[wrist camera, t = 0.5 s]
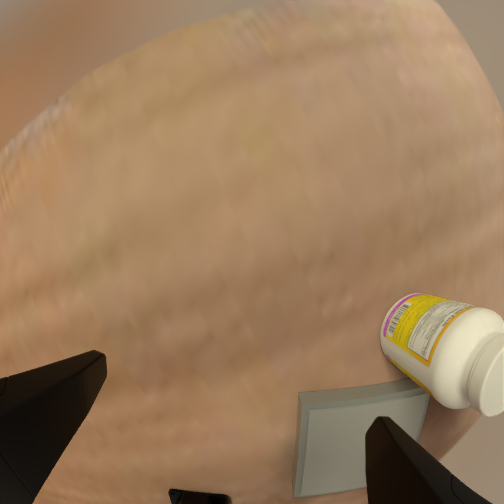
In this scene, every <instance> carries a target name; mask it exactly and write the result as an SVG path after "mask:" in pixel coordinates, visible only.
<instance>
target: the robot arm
mask: <svg viewBox="0 0 504 504" xmlns="http://www.w3.org/2000/svg"><path fill="white" fill-rule="evenodd" d="M106 377H107V365H106V356H105V354H103V353H101V352H99V351H96V350H92V351H89V352H86V353H83V354H80V355H77V356H73V357H70V358H67V359H64V360H61V361H58V362H55V363H51V364H48V365H45V366H42V367H39V368H35V369H32V370H29V371H25V372H22V373H19V374H15V375H12V376H9V377H4V378H1V379H0V504H32V503H33V502H34V500H35V498H36V496H37V494H38V493H39V491H40V489H41V488H42V486H43V484H44V483H45V481H46V479H47V478H48V476H49V474H50V473H51V471H52V469H53V468H54V466H55V464H56V463H57V461H58V460H59V458H60V456H61V455H62V453H63V452H64V450H65V449H66V447H67V445H68V444H69V442H70V441H71V439H72V438H73V436H74V435H75V433H76V431H77V430H78V428H79V427H80V425H81V424H82V422H83V421H84V419H85V418H86V416H87V414H88V413H89V411H90V409H91V407H92V405H93V403H94V401H95V399H96V397H97V395H98V393H99V391H100V389H101V387H102V385H103V383H104V381H105V379H106ZM365 474H366V484H367V494H368V504H492V503H490V502H489V501H487V500H486V499H484V498H483V497H481V496H480V495H479V494H477V493H476V492H474V491H473V490H471V489H470V488H469V487H467V486H466V485H465V484H464V483H463V482H461V481H460V480H459V479H458V478H457V477H455V476H454V475H453V474H451V472H450V471H449V470H447V469H446V468H445V467H444V466H443V465H441V463H440V462H438V461H437V460H436V459H435V458H434V457H433V456H432V455H431V454H430V453H428V452H427V451H426V450H425V449H424V448H423V447H422V446H421V445H420V444H418V443H417V442H416V441H415V440H414V439H413V438H412V437H411V436H410V435H409V434H407V433H406V432H405V431H404V430H403V429H402V428H401V427H400V426H399V425H398V424H397V423H395V422H394V421H393V420H392V419H391V418H390V417H388V416H378V417H376V418H375V420H374V421H373V423H372V424H371V426H370V427H369V429H368V430H367V432H366V435H365ZM168 493H169V497H170V500H171V503H172V504H228V497H227V496H226V495H222V494H210V493H200V492H191V491H184V490H177V489H170V490H169V492H168Z"/></svg>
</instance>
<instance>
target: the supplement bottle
mask: <svg viewBox="0 0 504 504" xmlns="http://www.w3.org/2000/svg"><path fill="white" fill-rule="evenodd" d="M380 340H381V346H382V350H383V352H384V354H385V356H386V357H387V358H388V360H389V361H391V362H392V363H393V364H394V365H395V366H396V367H397V368H399V369H400V370H401V371H402V372H404V373H405V374H406V375H407V376H408V377H409V378H411V379H412V380H413V381H414V382H415V383H417V384H418V385H419V386H420V387H421V388H423V389H424V390H425V391H426V392H427V393H429V394H430V395H431V396H432V397H433V398H434V399H436V400H437V401H438V402H439V403H441V404H442V405H443V406H445V407H447V408H451V409H464V408H468V407H470V406H472V407H473V408H474V409H475V410H476V411H478V412H479V413H481V414H482V415H484V416H487V417H492V416H496V415H498V414H500V413H501V412H503V411H504V321H503V320H502V318H501V317H500V316H499V315H498V314H497V313H495V312H494V311H492V310H489V309H486V308H482V307H478V306H473V305H469V304H465V303H461V302H457V301H452V300H448V299H444V298H440V297H436V296H432V295H428V294H422V293H414V294H410V295H408V296H405V297H403V298H402V299H400V300H399V301H397V302H396V303H395V304H394V305H393V306H392V307H391V309H390V310H389V312H388V313H387V315H386V317H385V319H384V321H383V324H382V328H381V335H380Z"/></svg>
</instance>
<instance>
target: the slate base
mask: <svg viewBox="0 0 504 504" xmlns="http://www.w3.org/2000/svg"><path fill="white" fill-rule="evenodd" d="M429 399H430V394H429V393H427V392H426V391H425V390H424V389H423V388H421V387H420V386H419V385H418V384H417V383H415V382H414V381H413V380H412V379H411V378H410V379H405V380H400V381H394V382H388V383H382V384H376V385H369V386H362V387H354V388H345V389H336V390H325V391H312V392H299V397H298V415H297V430H296V444H295V457H294V468H293V479H292V488H293V496H294V498H295V497H307V496H317V495H325V494H332V493H339V492H345V491H351V490H356V489H361V488H366V487H367V484H366V474H365V435H366V432H367V430H368V429H369V427H370V426H371V424H372V423H373V421H374V420H375V418H376V417H378V416H388V417H390V418H391V419H392V420H393V421H394V422H395V423H397V424H398V425H399V426H400V427H401V428H402V429H403V430H404V431H405V432H406V433H407V434H409V435H410V436H411V437H412V438H413V439H414V440H415V441H416V442H418V439H419V436H420V433H421V429H422V426H423V422H424V419H425V415H426V411H427V407H428V403H429Z"/></svg>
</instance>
